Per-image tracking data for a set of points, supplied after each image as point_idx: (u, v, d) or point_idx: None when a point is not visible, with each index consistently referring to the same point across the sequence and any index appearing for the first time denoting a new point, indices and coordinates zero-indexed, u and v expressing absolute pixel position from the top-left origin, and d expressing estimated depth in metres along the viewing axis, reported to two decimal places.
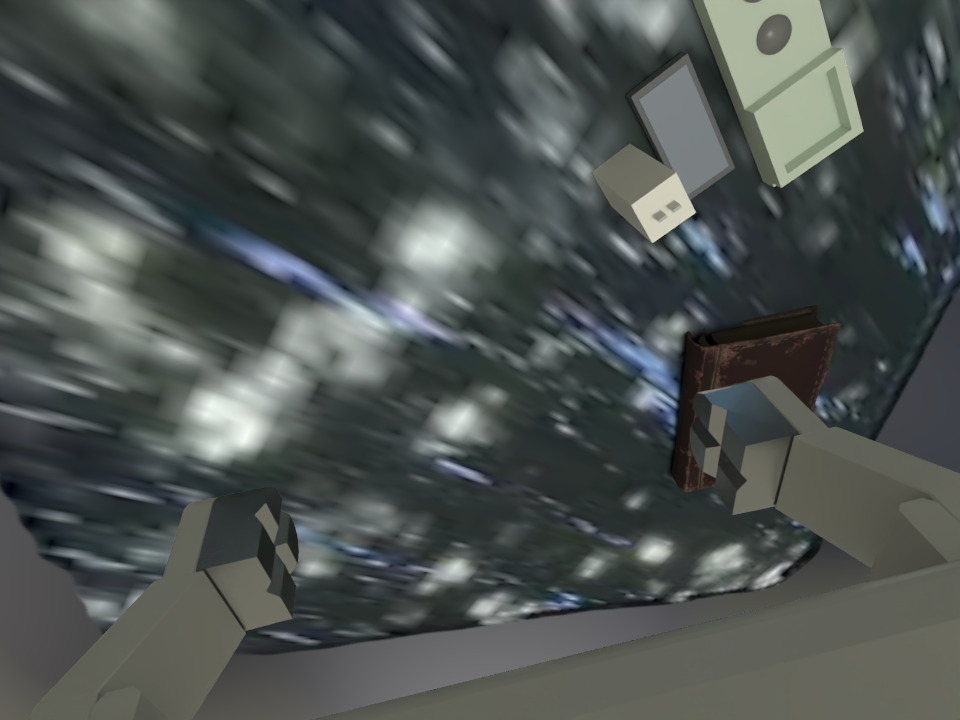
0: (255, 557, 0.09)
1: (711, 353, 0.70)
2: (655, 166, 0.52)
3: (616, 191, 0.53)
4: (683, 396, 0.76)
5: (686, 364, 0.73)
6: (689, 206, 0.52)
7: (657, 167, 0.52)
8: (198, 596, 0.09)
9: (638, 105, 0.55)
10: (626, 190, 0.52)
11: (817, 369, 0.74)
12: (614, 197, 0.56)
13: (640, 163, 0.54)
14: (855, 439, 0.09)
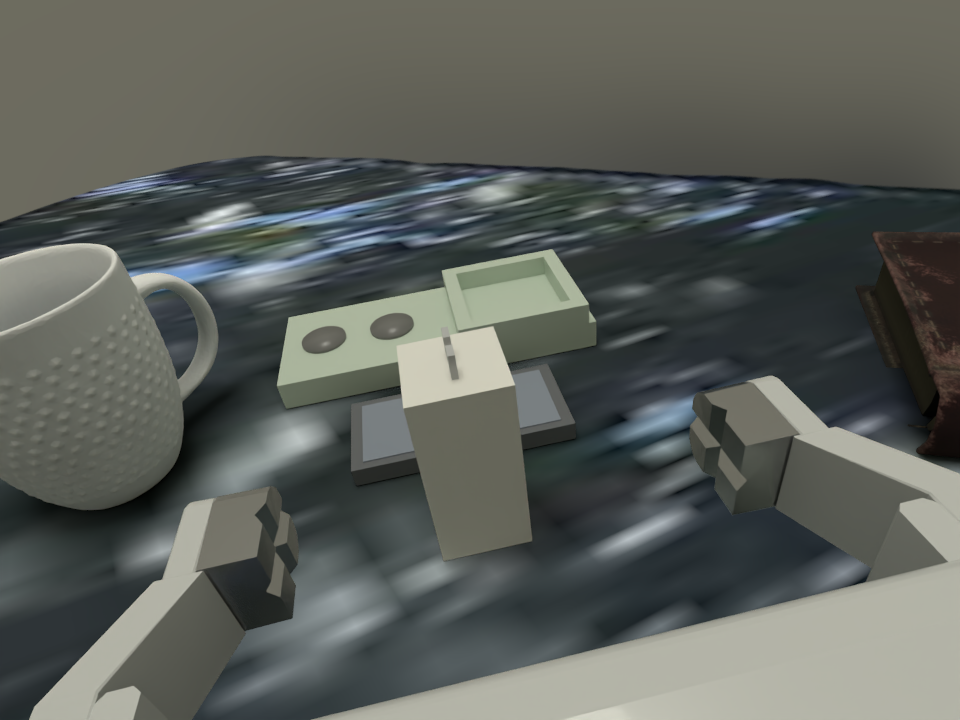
0: (255, 557, 0.09)
1: (959, 383, 0.29)
2: None
3: None
4: None
5: None
6: (474, 332, 0.27)
7: None
8: (198, 596, 0.09)
9: (370, 463, 0.33)
10: None
11: None
12: (459, 494, 0.26)
13: None
14: (855, 439, 0.09)
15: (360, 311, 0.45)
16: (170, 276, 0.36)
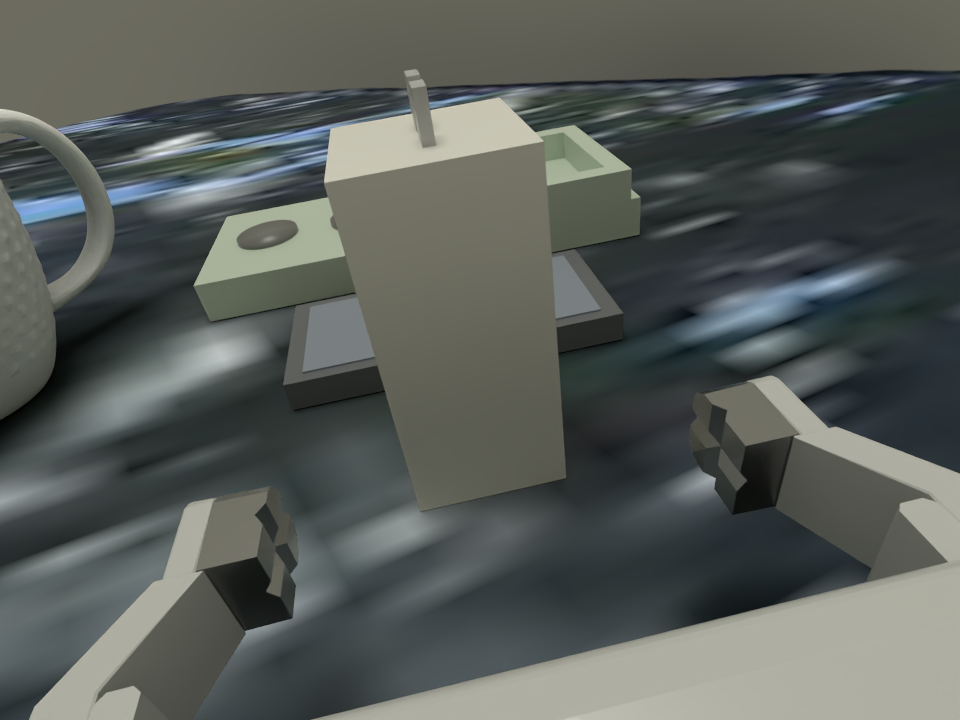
0: (255, 557, 0.09)
1: None
2: None
3: None
4: None
5: None
6: (466, 105, 0.15)
7: None
8: (198, 596, 0.09)
9: (313, 374, 0.22)
10: None
11: None
12: (442, 384, 0.15)
13: None
14: (855, 439, 0.09)
15: (320, 205, 0.34)
16: (28, 115, 0.25)
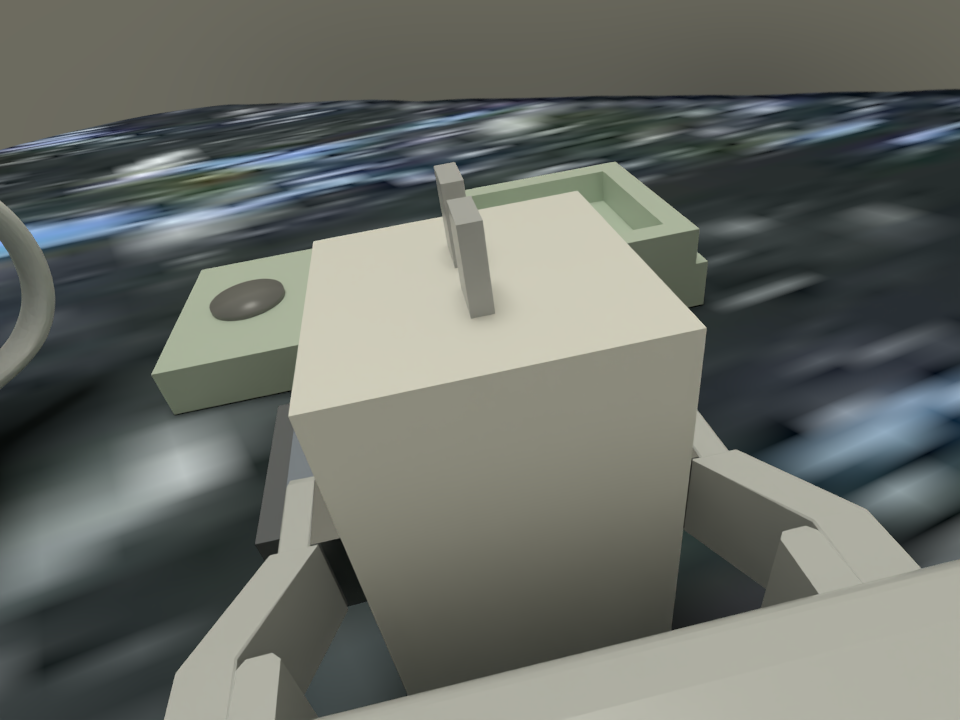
0: None
1: None
2: None
3: None
4: None
5: None
6: (528, 205, 0.10)
7: None
8: (314, 569, 0.09)
9: None
10: None
11: None
12: (489, 655, 0.09)
13: None
14: (751, 463, 0.09)
15: None
16: None
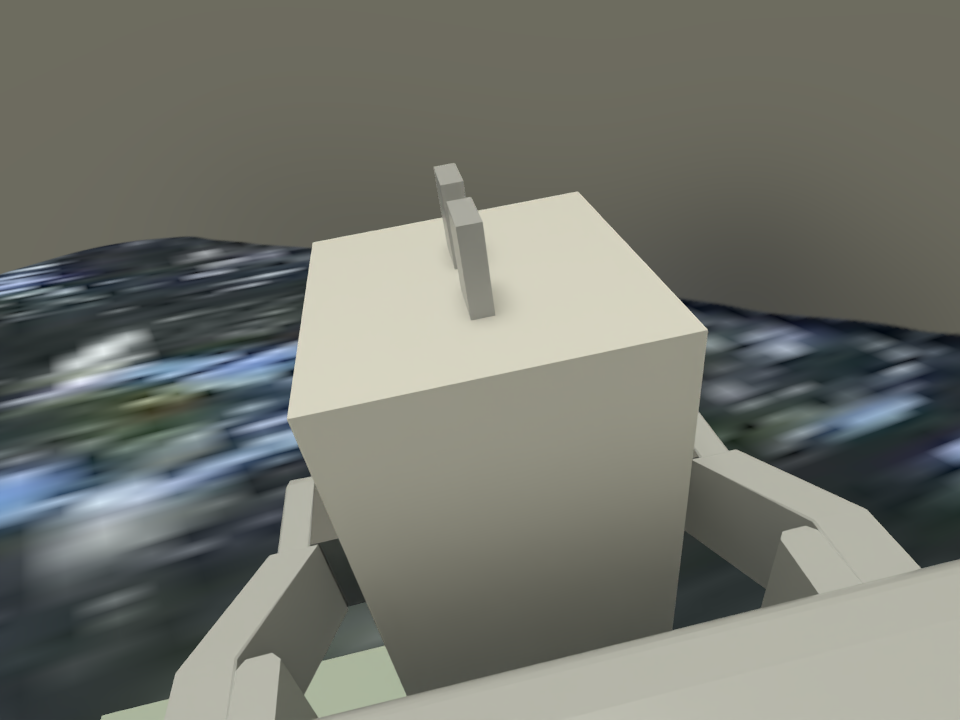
0: None
1: None
2: None
3: None
4: None
5: None
6: (528, 206, 0.10)
7: None
8: (313, 569, 0.09)
9: None
10: None
11: None
12: (489, 658, 0.09)
13: None
14: (751, 463, 0.09)
15: None
16: None
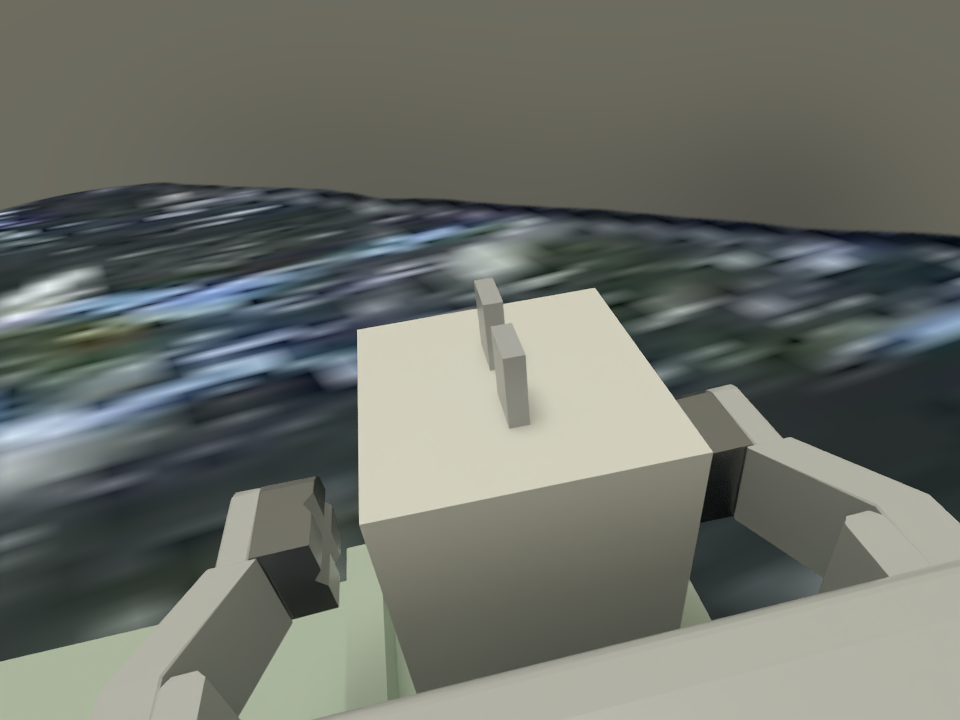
0: (307, 545, 0.09)
1: None
2: None
3: None
4: None
5: None
6: (551, 302, 0.11)
7: None
8: (251, 584, 0.09)
9: None
10: None
11: None
12: None
13: None
14: (807, 450, 0.09)
15: None
16: None
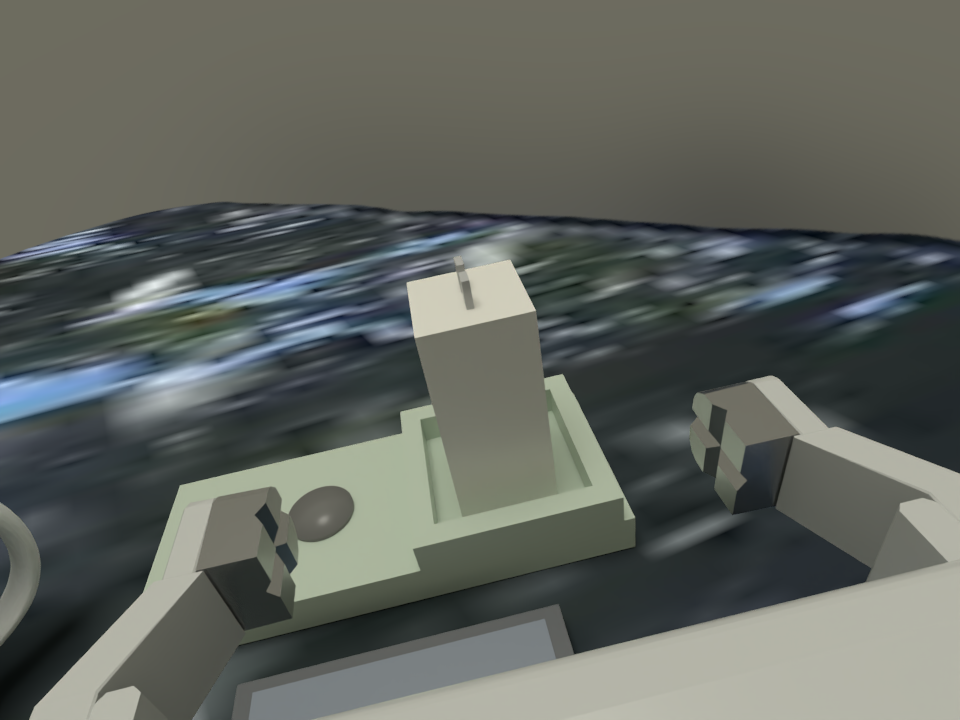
0: (255, 557, 0.09)
1: None
2: None
3: (434, 411, 0.23)
4: None
5: None
6: (490, 266, 0.25)
7: None
8: (198, 596, 0.09)
9: None
10: None
11: None
12: (477, 440, 0.24)
13: None
14: (855, 439, 0.09)
15: (281, 477, 0.31)
16: None
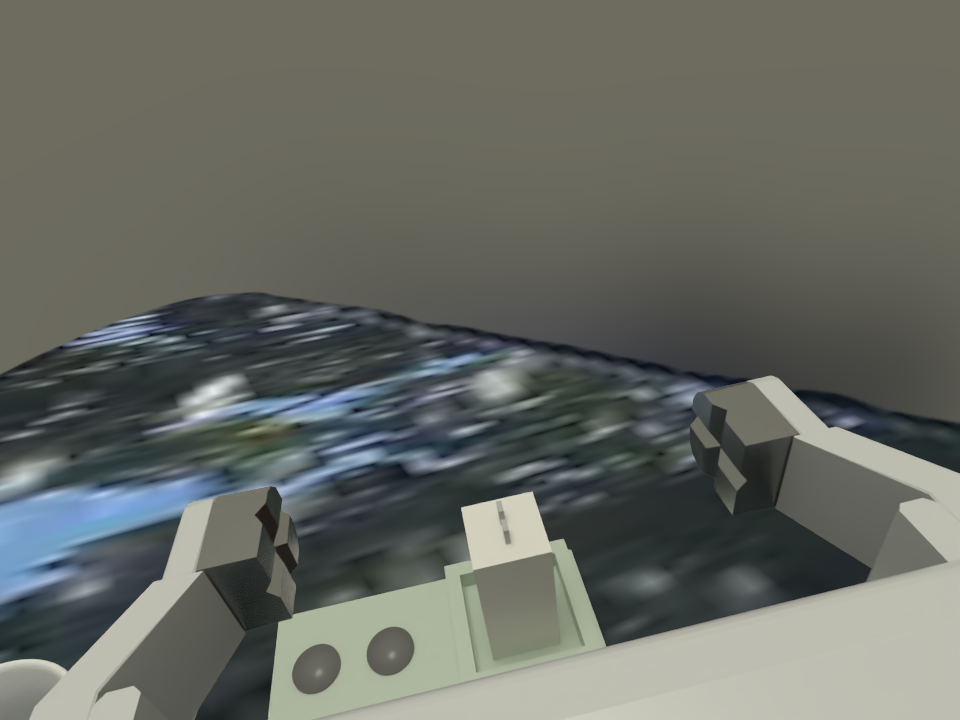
0: (255, 557, 0.09)
1: None
2: None
3: None
4: None
5: None
6: (518, 497, 0.36)
7: None
8: (198, 596, 0.09)
9: None
10: None
11: None
12: (508, 618, 0.36)
13: None
14: (855, 439, 0.09)
15: (356, 615, 0.42)
16: None
